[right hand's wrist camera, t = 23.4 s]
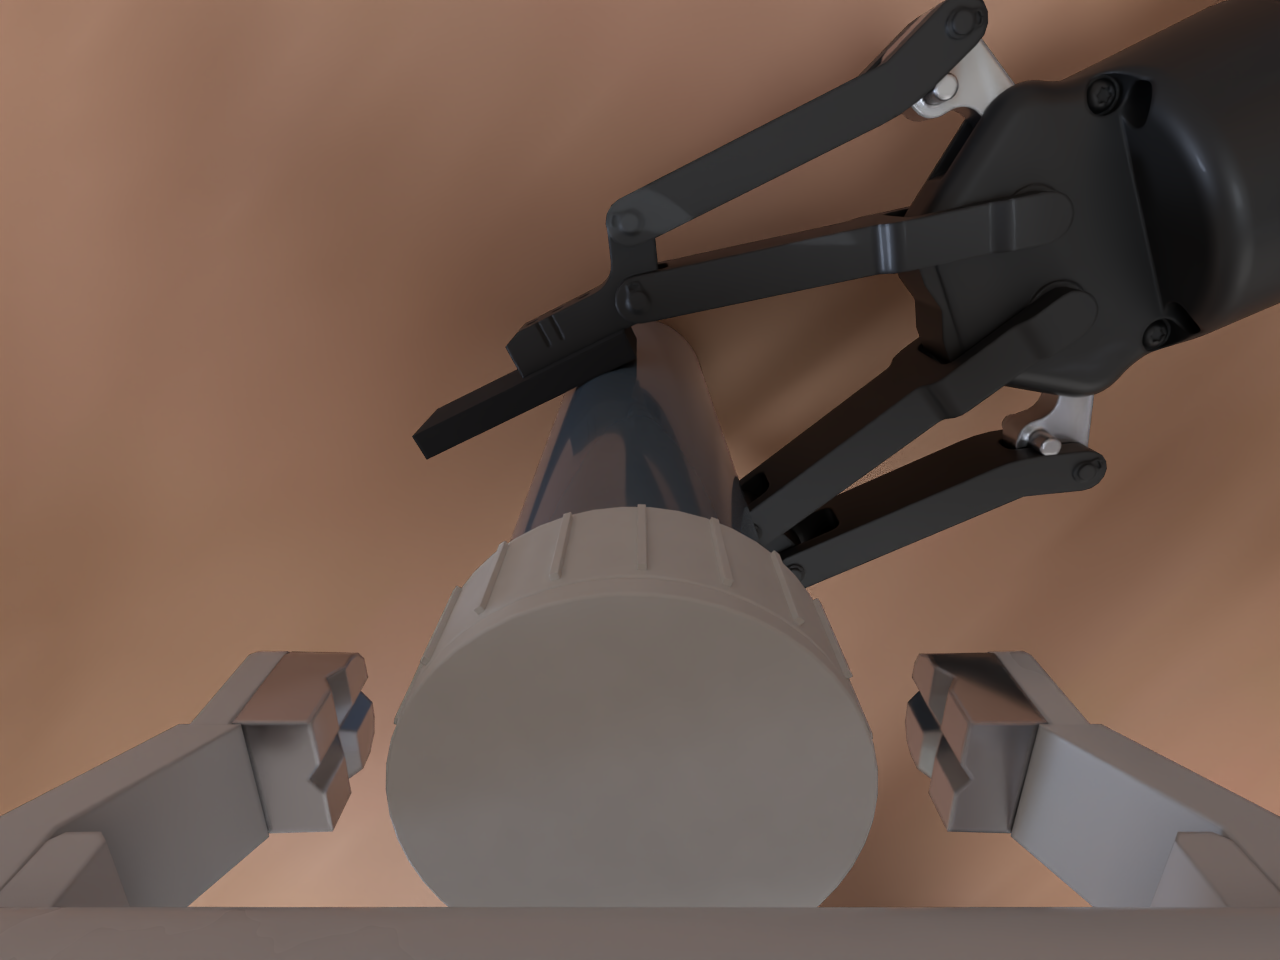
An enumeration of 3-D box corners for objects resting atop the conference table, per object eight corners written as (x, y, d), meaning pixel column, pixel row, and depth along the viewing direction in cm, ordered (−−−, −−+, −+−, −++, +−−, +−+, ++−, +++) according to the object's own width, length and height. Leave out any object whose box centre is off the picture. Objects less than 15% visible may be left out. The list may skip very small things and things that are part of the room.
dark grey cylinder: (725, 402, 28) (883, 797, 10) (618, 465, 29) (582, 932, 11) (658, 292, 26) (699, 518, 8) (548, 363, 27) (366, 706, 9)
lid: (614, 890, 12) (608, 1035, 10) (344, 666, 11) (272, 784, 8) (914, 705, 11) (979, 828, 9) (658, 412, 9) (663, 477, 7)
